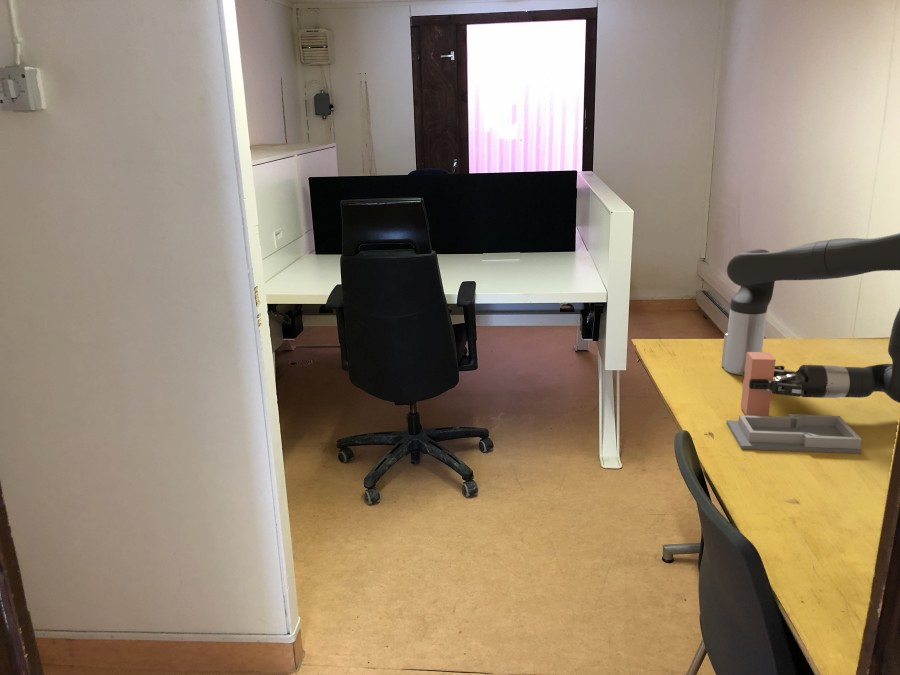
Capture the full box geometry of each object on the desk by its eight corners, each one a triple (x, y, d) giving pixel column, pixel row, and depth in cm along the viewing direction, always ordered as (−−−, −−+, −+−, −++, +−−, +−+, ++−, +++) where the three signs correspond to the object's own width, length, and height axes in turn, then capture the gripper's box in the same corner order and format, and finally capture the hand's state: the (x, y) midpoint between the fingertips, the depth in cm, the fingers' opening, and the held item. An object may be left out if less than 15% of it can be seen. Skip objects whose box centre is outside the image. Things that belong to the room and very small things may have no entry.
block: (746, 415, 170) (752, 359, 166) (740, 406, 175) (746, 351, 171) (768, 416, 170) (775, 359, 165) (762, 407, 174) (769, 352, 170)
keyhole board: (836, 427, 164) (838, 414, 163) (860, 453, 152) (862, 440, 151) (726, 423, 167) (727, 411, 166) (741, 449, 155) (742, 436, 154)
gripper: (813, 355, 174) (739, 354, 176) (837, 377, 160) (756, 375, 162) (809, 384, 176) (736, 383, 178) (832, 408, 162) (752, 406, 164)
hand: (746, 379), depth 170 cm, fingers closed on block, 5 cm apart
